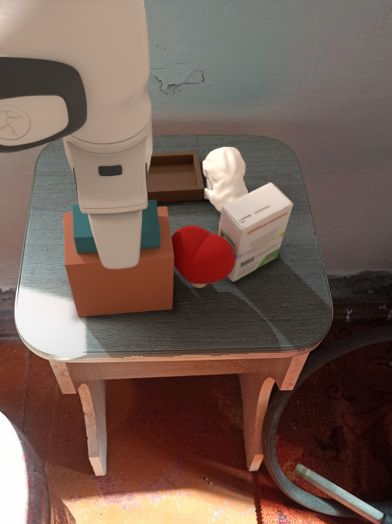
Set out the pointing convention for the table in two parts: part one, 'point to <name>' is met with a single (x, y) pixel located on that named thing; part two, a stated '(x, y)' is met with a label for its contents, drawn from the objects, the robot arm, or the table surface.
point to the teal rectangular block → (86, 239)
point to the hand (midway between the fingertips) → (118, 226)
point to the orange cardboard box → (121, 276)
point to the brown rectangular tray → (175, 177)
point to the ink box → (255, 228)
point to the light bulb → (201, 255)
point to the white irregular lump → (224, 176)
